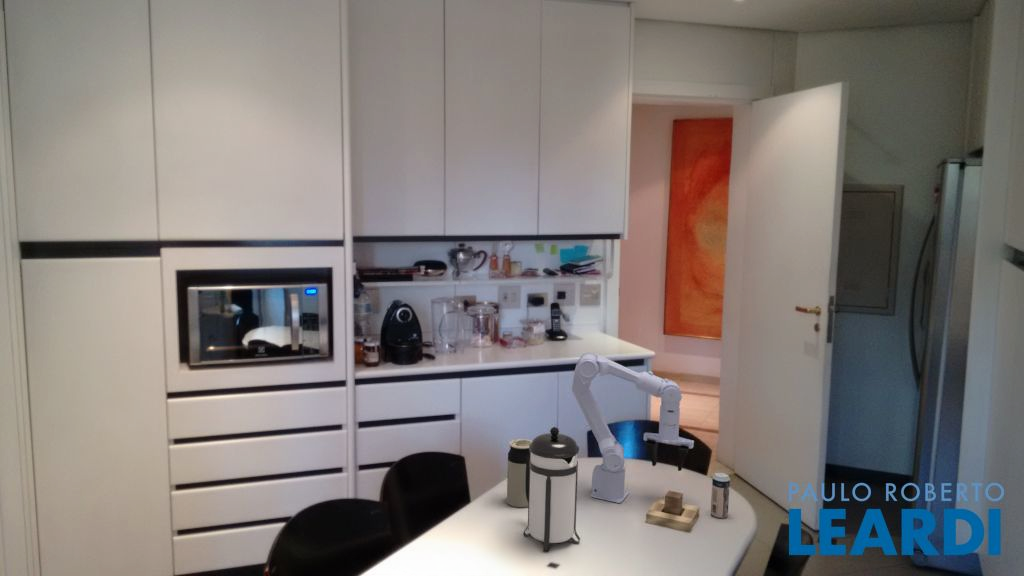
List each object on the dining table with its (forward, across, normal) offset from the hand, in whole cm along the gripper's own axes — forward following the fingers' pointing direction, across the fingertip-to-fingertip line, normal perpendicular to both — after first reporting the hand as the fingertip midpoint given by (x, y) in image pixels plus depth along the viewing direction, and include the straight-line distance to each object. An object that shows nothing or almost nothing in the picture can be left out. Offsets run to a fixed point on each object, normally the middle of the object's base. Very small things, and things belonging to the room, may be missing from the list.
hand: (667, 467), depth 202 cm
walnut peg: (+10, +5, -11) cm, 16 cm away
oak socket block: (+10, +5, -11) cm, 16 cm away
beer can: (+11, +16, -2) cm, 19 cm away
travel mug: (+11, -37, -23) cm, 45 cm away
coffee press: (+11, -21, -39) cm, 46 cm away
